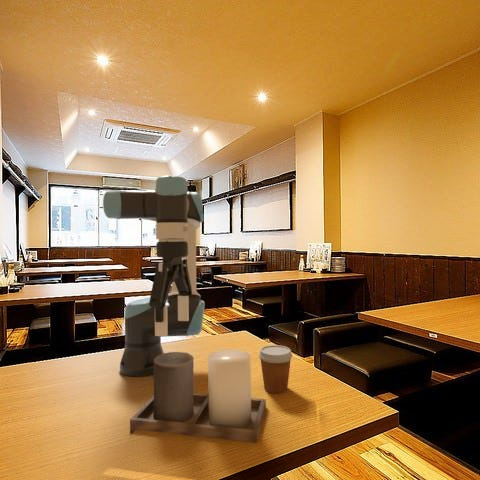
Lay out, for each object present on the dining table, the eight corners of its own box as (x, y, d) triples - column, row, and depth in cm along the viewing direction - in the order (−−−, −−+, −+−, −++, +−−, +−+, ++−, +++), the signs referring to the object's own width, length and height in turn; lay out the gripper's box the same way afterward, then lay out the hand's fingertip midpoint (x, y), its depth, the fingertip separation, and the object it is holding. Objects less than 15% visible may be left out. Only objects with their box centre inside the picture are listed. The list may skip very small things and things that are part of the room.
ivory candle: (203, 429, 75) (202, 362, 75) (215, 407, 85) (214, 348, 85) (247, 434, 73) (246, 365, 73) (254, 411, 83) (253, 350, 83)
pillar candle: (144, 419, 80) (144, 356, 79) (169, 401, 88) (169, 344, 88) (179, 429, 76) (179, 363, 75) (201, 408, 85) (201, 349, 84)
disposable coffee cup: (270, 403, 89) (270, 358, 89) (252, 389, 97) (252, 347, 97) (299, 395, 93) (299, 352, 93) (280, 382, 102) (279, 342, 102)
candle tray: (130, 432, 76) (129, 419, 76) (158, 401, 91) (158, 390, 91) (256, 447, 70) (256, 433, 70) (265, 411, 85) (265, 399, 85)
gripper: (165, 241, 69) (166, 344, 69) (202, 239, 93) (203, 316, 93) (131, 241, 70) (133, 342, 71) (177, 239, 95) (178, 314, 95)
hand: (173, 327), depth 82 cm, fingers open, 13 cm apart
